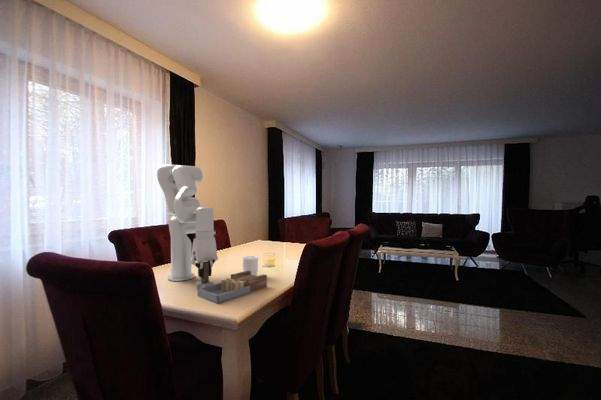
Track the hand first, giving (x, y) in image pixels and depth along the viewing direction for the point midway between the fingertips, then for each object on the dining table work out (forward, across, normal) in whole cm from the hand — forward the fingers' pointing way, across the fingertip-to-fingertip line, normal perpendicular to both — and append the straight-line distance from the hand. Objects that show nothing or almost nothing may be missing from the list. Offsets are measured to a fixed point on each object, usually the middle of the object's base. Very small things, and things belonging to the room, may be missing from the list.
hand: (204, 276), depth 127 cm
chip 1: (+3, -7, +10) cm, 13 cm away
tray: (+6, -1, +13) cm, 14 cm away
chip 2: (+3, -8, +15) cm, 17 cm away
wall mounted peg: (+5, 0, 0) cm, 5 cm away
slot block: (+6, -14, +13) cm, 20 cm away
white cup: (+6, -25, +1) cm, 26 cm away
